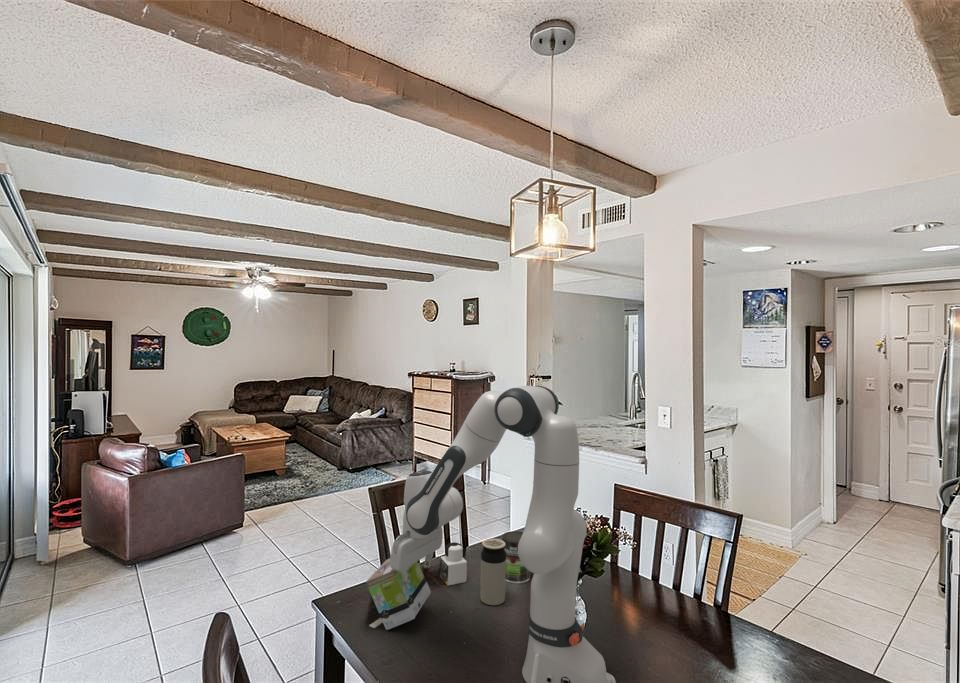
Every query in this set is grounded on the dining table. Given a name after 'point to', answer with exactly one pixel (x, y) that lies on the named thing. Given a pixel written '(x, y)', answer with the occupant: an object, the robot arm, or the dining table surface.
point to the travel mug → (493, 572)
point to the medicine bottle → (453, 565)
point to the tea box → (398, 593)
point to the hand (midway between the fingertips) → (416, 573)
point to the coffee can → (514, 559)
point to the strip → (376, 623)
